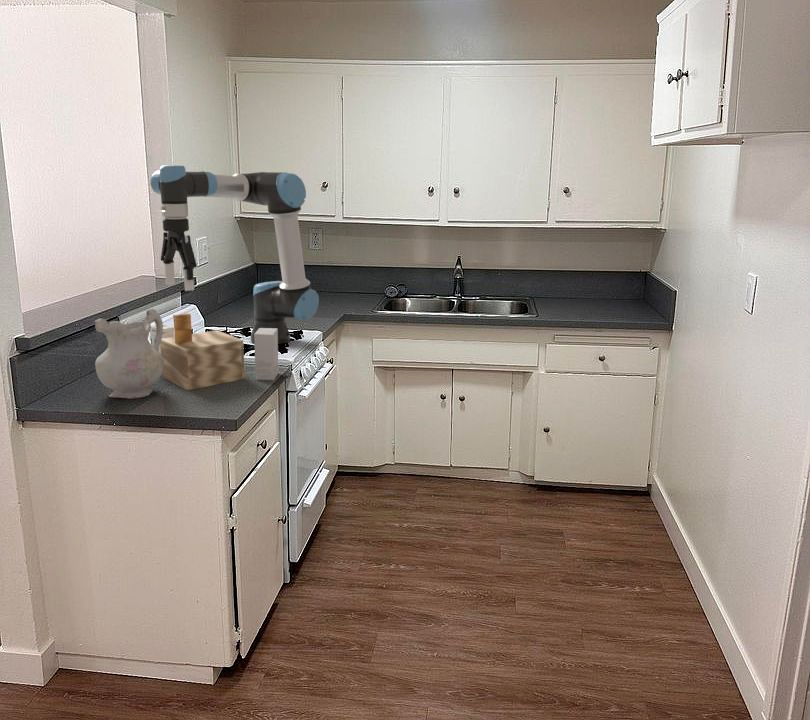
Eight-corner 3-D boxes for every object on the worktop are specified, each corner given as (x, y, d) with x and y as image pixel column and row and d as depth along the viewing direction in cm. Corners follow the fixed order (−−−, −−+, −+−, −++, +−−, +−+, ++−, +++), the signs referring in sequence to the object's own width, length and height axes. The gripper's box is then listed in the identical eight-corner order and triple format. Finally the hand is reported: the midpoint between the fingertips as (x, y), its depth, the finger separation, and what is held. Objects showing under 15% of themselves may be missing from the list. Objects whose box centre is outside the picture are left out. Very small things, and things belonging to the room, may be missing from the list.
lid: (216, 332, 257) (215, 304, 254) (243, 342, 244) (241, 312, 241) (160, 341, 244) (157, 311, 242) (184, 352, 231) (182, 321, 228)
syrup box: (166, 364, 262) (163, 323, 258) (176, 368, 258) (174, 326, 254) (152, 368, 258) (148, 326, 254) (162, 371, 254) (159, 329, 250)
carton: (218, 366, 260) (216, 332, 257) (244, 378, 247) (243, 343, 244) (162, 377, 247) (160, 341, 244) (187, 390, 234) (184, 352, 231)
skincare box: (260, 372, 254) (258, 327, 249) (280, 373, 253) (278, 327, 249) (254, 380, 246) (252, 333, 241) (275, 380, 245) (273, 333, 241)
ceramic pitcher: (137, 382, 245) (125, 306, 239) (186, 385, 238) (175, 307, 232) (86, 402, 226) (72, 320, 220) (138, 406, 218) (125, 321, 212)
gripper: (146, 215, 236) (151, 283, 242) (181, 221, 218) (186, 294, 224) (169, 214, 241) (174, 280, 247) (205, 220, 223) (209, 291, 228)
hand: (179, 287), depth 235 cm, fingers open, 13 cm apart
